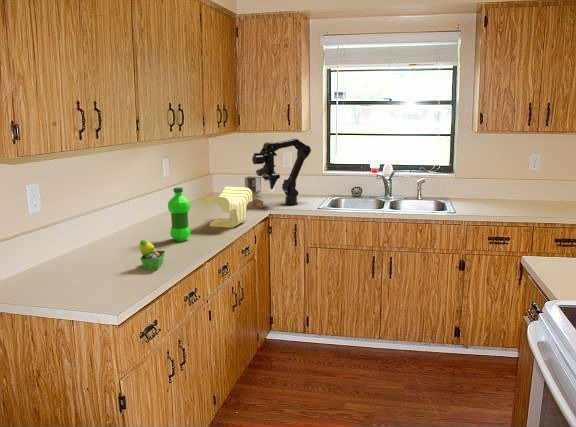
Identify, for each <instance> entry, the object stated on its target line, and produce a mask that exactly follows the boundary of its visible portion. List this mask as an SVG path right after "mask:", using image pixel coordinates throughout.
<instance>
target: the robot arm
mask: <svg viewBox="0 0 576 427" xmlns="http://www.w3.org/2000/svg"><path fill="white" fill-rule="evenodd" d="M290 147H294V148H295V149H296V150H297V151H296V156H297V157H296V159H295V162H294V164H293V166H292V168H291V172H290V174H289V177H288V178H287V179H284V180H283V183H282V185H281V186H282V187H281V189H282V191H283V192H284V195H285V198H284V199H285V202H284V205H287V206H296V205H297V206H298V205H299V203H298V195H299V191H298V190H297V189H296V188H297V179H298V176H299V174H300V171H301V169H302V166H303V164H304V162H305V160H306V159H307V158H308V157H309V155H310V154H311V151H312V149H311V147H310V146H309V145H307V144H305V143H303V142H302V141H301V140H299V139H298V138H291V139H287V140H282V141H277V142H272V141H271V142H264V143H263V145H262V148H261V150H260V151H259V152H254V153H253V156H252V158H251V161H252V164H253V165H262V167H260V168H257V170H255V173H256V177H261V179H263V181H264V180H266V179H268V180H269V181H270V187H271V189H273V187H274V185H275V186H276V183H277V181H278V180H279V179H281V174H279V173H276V171H275V167H276V165H275V157H277V156H278V153H276V152H277V151H278V150H280V149H285V148H290Z"/></svg>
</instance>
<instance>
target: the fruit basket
mask: <svg viewBox="0 0 576 427" xmlns="http://www.w3.org/2000/svg"><path fill="white" fill-rule="evenodd" d="M139 247H140V248H139V250H140V253H141V254H142V256H141V257H140V258H139V259H140V261H141V264H142V266H143V269H144V271H158V270H159V269H160V267H161V266H162V264H163V262H164V257H165V253H166V250H155V246H154V244H152V243H151V242H149V241H148V240H146V239H143V240H140V243H139Z"/></svg>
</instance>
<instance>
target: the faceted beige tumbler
mask: <svg viewBox="0 0 576 427" xmlns="http://www.w3.org/2000/svg"><path fill="white" fill-rule="evenodd" d="M263 181H264V182H263V183H264V191H265V192H267V193H268V192H270V193H272V192H275V187H276V184H275V185H274V187H273V189H271V187H270V181H269V180H268V179H266V180H264V179H263Z"/></svg>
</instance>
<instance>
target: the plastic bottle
mask: <svg viewBox="0 0 576 427" xmlns="http://www.w3.org/2000/svg"><path fill="white" fill-rule="evenodd" d="M183 190H184V189H183V187H174V188H173V193H174V196H173V197H171V198H170V199H169V200H168V202H167V209H168V211H169V212H170V216H171V217H170V218H171V228H170V231H169V234H170V236H171V238H172V239H173V240H176V242H185V241H187V239H188V238H190V236H191V228H190V226H189V214H188V213H189V211H190V210H191V204H190V201H189V199H187V197H185V196H184V195H183V194H182V193H184V191H183Z"/></svg>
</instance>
